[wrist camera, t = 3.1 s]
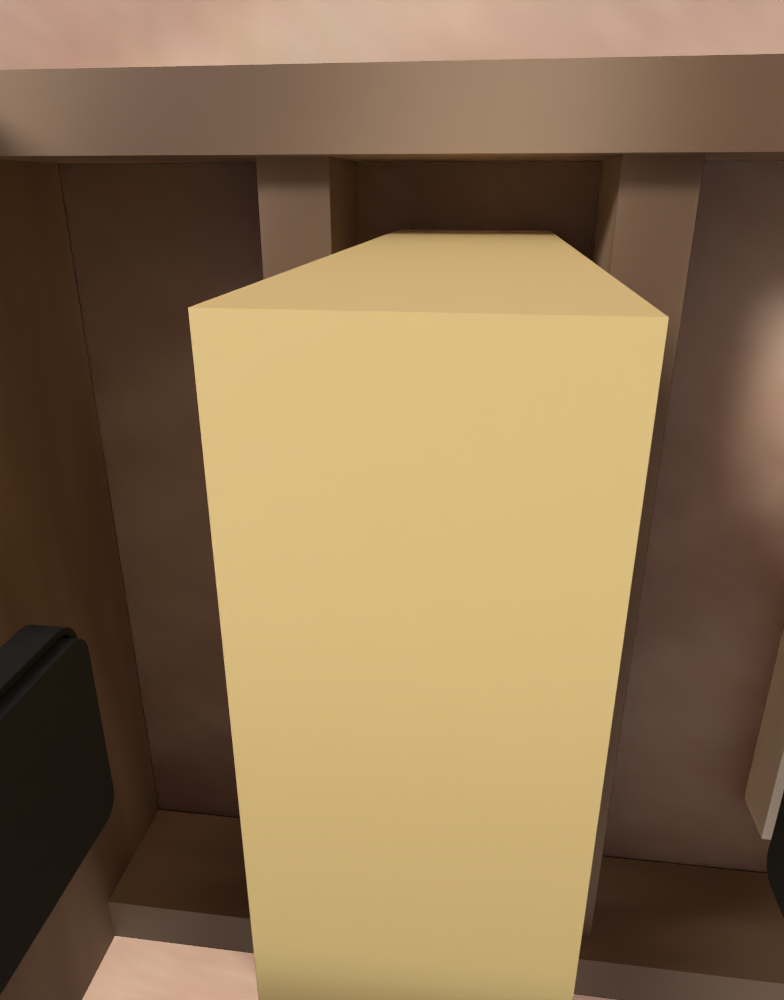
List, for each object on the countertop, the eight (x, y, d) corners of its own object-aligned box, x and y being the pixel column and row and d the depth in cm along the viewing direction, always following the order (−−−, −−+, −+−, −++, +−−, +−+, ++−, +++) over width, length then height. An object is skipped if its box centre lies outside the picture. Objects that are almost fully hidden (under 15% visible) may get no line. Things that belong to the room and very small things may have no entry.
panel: (549, 230, 12) (669, 316, 4) (505, 808, 16) (511, 1430, 8) (399, 229, 12) (189, 308, 4) (397, 797, 17) (298, 1388, 8)
